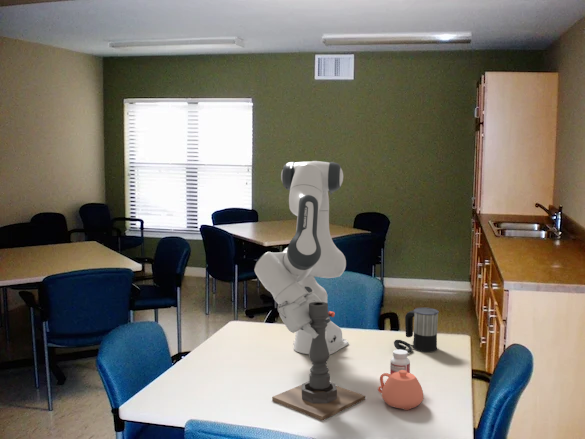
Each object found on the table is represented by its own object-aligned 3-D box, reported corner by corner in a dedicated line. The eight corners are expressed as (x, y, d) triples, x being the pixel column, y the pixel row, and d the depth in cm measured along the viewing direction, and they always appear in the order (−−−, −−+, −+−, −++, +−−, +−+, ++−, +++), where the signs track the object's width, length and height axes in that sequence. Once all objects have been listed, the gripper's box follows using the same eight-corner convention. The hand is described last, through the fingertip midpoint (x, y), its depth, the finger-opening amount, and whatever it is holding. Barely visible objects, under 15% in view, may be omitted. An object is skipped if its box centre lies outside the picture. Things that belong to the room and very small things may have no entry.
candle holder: (328, 389, 184) (327, 306, 181) (308, 388, 185) (306, 306, 182) (331, 381, 190) (329, 301, 187) (310, 380, 191) (309, 301, 188)
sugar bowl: (414, 416, 177) (415, 381, 176) (369, 405, 185) (370, 372, 183) (429, 401, 188) (430, 368, 186) (386, 391, 195) (386, 360, 194)
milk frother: (441, 347, 237) (442, 309, 235) (426, 359, 224) (427, 319, 222) (406, 341, 245) (407, 304, 243) (389, 352, 231) (390, 313, 230)
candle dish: (316, 382, 202) (316, 369, 202) (365, 399, 189) (365, 386, 188) (272, 400, 188) (272, 387, 187) (322, 420, 174) (322, 406, 174)
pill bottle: (402, 380, 204) (402, 347, 203) (413, 386, 199) (414, 353, 197) (386, 383, 202) (386, 350, 200) (397, 389, 196) (398, 356, 195)
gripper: (281, 299, 179) (311, 337, 175) (313, 285, 196) (341, 319, 193) (268, 312, 181) (297, 350, 178) (301, 297, 199) (328, 331, 196)
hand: (320, 334), depth 185 cm, fingers closed on candle holder, 4 cm apart
